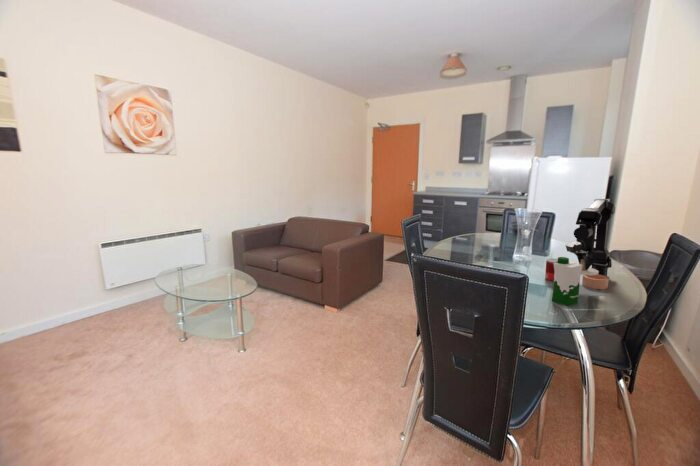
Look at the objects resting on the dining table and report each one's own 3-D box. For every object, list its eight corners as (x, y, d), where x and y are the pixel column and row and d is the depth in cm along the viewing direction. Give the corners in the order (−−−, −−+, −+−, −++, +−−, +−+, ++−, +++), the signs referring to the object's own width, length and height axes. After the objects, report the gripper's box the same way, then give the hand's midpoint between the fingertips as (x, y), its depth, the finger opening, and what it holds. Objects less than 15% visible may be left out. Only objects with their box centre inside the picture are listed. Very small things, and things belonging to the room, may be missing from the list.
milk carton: (560, 297, 143) (564, 255, 139) (581, 304, 135) (586, 260, 131) (548, 300, 139) (551, 258, 136) (568, 308, 131) (573, 263, 128)
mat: (586, 285, 155) (586, 284, 155) (608, 296, 142) (608, 295, 141) (558, 286, 156) (558, 285, 156) (576, 296, 142) (576, 296, 142)
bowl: (597, 282, 159) (598, 273, 158) (612, 289, 149) (613, 279, 148) (577, 282, 159) (578, 273, 158) (591, 290, 149) (592, 280, 149)
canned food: (557, 283, 160) (558, 263, 158) (541, 279, 167) (543, 259, 164) (565, 280, 163) (567, 260, 161) (550, 276, 170) (551, 257, 168)
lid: (587, 268, 152) (588, 256, 151) (604, 275, 141) (605, 262, 140) (564, 268, 153) (565, 256, 152) (579, 275, 142) (580, 263, 141)
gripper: (557, 233, 153) (554, 263, 156) (583, 241, 135) (579, 275, 138) (580, 232, 153) (577, 262, 156) (609, 240, 134) (605, 274, 137)
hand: (584, 268), depth 147 cm, fingers closed on lid, 3 cm apart
